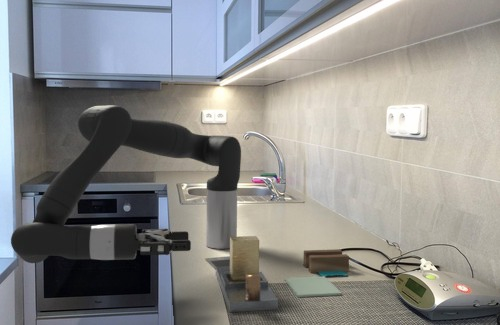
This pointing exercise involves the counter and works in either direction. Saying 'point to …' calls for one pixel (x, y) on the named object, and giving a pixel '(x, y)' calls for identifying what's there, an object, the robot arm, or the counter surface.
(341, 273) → the smartphone
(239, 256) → the brushed brass block
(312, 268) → the phone stand
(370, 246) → the counter surface
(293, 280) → the pad
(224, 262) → the smartphone
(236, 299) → the grey slotted base
